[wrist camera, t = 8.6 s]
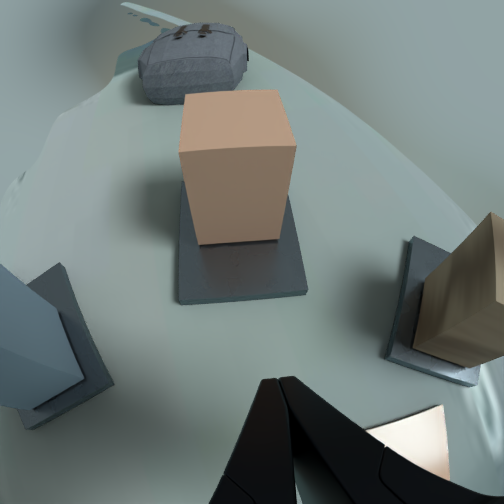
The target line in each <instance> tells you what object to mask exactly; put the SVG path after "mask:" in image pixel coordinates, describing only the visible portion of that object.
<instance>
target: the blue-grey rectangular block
mask: <svg viewBox="0 0 504 504" xmlns="http://www.w3.org/2000/svg"><path fill="white" fill-rule="evenodd" d="M83 379H84V376H83V374H82V372H81V370H80V368H79V365H78V363H77V361H76V359H75V356H74V354H73V351H72V349H71V347H70V344H69V342H68V339H67V336H66V334H65V331H64V328H63V326H62V323H61V320H60V317H59V314H58V312H57V309H56V308H55V307H54V306H53V305H51V304H50V303H49V302H47V301H46V300H44V299H43V298H42V297H41V296H39V295H38V294H37V293H35V292H34V291H33V290H31V289H30V288H29V287H28V286H26V285H25V284H24V283H23V282H21V281H20V280H19V279H18V278H17V277H15V276H14V275H13V274H12V273H11V272H9V271H8V270H7V269H6V268H5V267H4V266H2V265H1V264H0V405H1V406H6V407H11V408H17V409H23V410H31V409H33V408H35V407H36V406H38V405H40V404H42V403H43V402H45V401H47V400H49V399H50V398H52V397H54V396H55V395H57V394H59V393H61V392H62V391H64V390H66V389H67V388H69V387H71V386H72V385H74V384H76V383H78V382H79V381H81V380H83Z"/></svg>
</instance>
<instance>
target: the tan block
mask: <svg viewBox="0 0 504 504" xmlns="http://www.w3.org/2000/svg"><path fill="white" fill-rule="evenodd" d="M296 146H297V145H296V142H295V139H294V136H293V133H292V130H291V127H290V124H289V121H288V118H287V115H286V113H285V110H284V107H283V104H282V101H281V98H280V96H279V93H278V90H237V91H218V92H205V93H194V94H185V102H184V109H183V117H182V125H181V134H180V144H179V157H180V162H181V167H182V172H183V177H184V182H185V187H186V191H187V196H188V201H189V206H190V210H191V215H192V219H193V224H194V228H195V233H196V237H197V241H198V245H204V244H217V243H230V242H244V241H257V240H271V239H279V238H280V232H281V227H282V222H283V217H284V212H285V206H286V201H287V196H288V190H289V185H290V179H291V174H292V168H293V163H294V157H295V152H296Z"/></svg>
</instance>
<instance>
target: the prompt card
mask: <svg viewBox="0 0 504 504" xmlns="http://www.w3.org/2000/svg"><path fill="white" fill-rule="evenodd" d="M365 431H367V432H368V433H369V434H371V435H372V436H373V437H375V438H376V439H378V440H379V441H381V442H382V443H383V444H385V447H386V446H388V447H389V448H391V449H392V450H394V451H395V452H397V453H398V454H400V455H401V456H403V457H404V458H406V459H408V460H409V461H411V462H412V463H414V464H416V465H418V466H419V467H421V468H423V469H425V470H427V471H429V472H431V473H433V474H435V475H437V476H439V477H442V478H444V479H446V480H448V481H450V475H449V456H448V443H447V433H446V424H445V416H444V409H443V404H441V405H437V406H435V407H432V408H430V409H427V410H424V411H422V412H419V413H416V414H414V415H411V416H408V417H405V418H402V419H399V420H396V421H393V422H390V423H387V424H384V425H380V426H377V427H374V428H370V429H367V430H365Z"/></svg>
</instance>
